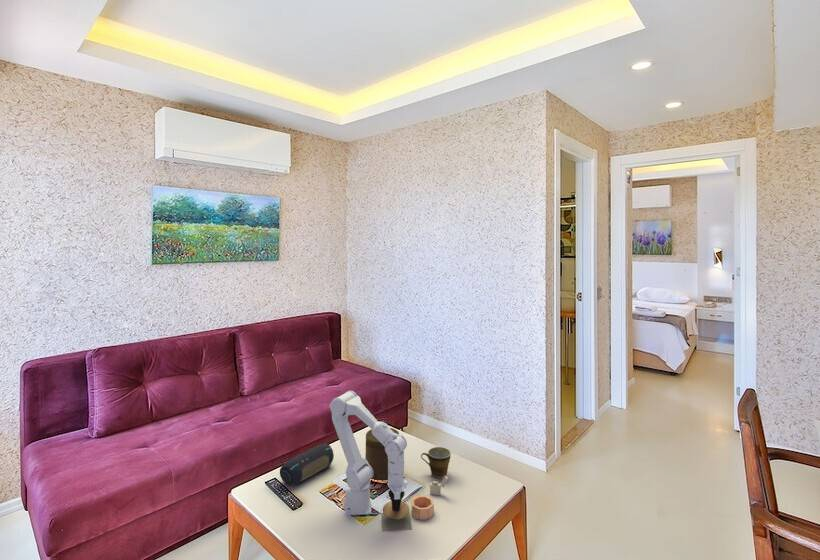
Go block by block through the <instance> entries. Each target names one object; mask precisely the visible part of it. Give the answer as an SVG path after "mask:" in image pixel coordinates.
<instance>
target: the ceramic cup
mask: <svg viewBox="0 0 820 560" xmlns="http://www.w3.org/2000/svg"><path fill="white" fill-rule="evenodd" d="M423 455H425V456H426V457H427V458H428V461H429V462H428V461H427V460H426V459H425V458H424V457H423ZM451 455H452V452H451V450H450V449H448V448H446V447H443V446H442V447H441V446H436V447H431V448H429V449H428V451H427V453H426V452H423V453H421V455H420V459H422V461H424V462H425V463H426V464H428V466H429V468H430V473H431V474H430V475H431V476H432V477H433V478H434V479H441V478H442V479H443V478H444V476H445V475H446V476H447V477H448V475H447V474H448V469H449V464H450V460H451Z"/></svg>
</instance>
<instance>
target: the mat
mask: <svg viewBox="0 0 820 560" xmlns="http://www.w3.org/2000/svg"><path fill="white" fill-rule="evenodd" d="M380 513H381V512H380ZM380 515H381V532H395V531H398V532H399V531H410V530H411V531H412V530H413V528H412V520H411V514H410V511H409V514H408V515H407V516H406V517H404V518H402V519H397V520H395V519H389V518H387V517H386V516H385V515H384V514H383V513H381V514H380Z"/></svg>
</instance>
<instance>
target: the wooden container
mask: <svg viewBox="0 0 820 560" xmlns="http://www.w3.org/2000/svg"><path fill="white" fill-rule="evenodd" d="M389 428H390V429H391V430H392V431H393V432H394V433H396V434H399V435H400V432H399V431H398V430H397V429H395V428H394V427H393V428H392V427H389ZM385 448H386V447H385V446H384V445H383V444H382V443H381V442H380V441H379V440H378V439H377V438H376V437H375V436H374V435H373V434H372V429H371V428H370V429H369V430H368V431H367V432H366V433H365V458H364V459H366V460H367V461H368V464H369V465H370V466H371V467H372V469H373V477H372V478H371V479H374V480H382V481H383V480H388V455H387V453H386V451H385Z"/></svg>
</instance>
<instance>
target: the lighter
mask: <svg viewBox="0 0 820 560" xmlns="http://www.w3.org/2000/svg"><path fill="white" fill-rule="evenodd" d="M448 480H449V476H448V475H447V476H446V475H445V476H444V478H442V480H441V482H439V481H438V480H437V481H435V480H433V481H432V482H430V483H429V484H430V485H429V495H432V496H441V491H442V489H441V487H442V488H444V487H445V485H446V483H447V482H448Z"/></svg>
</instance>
